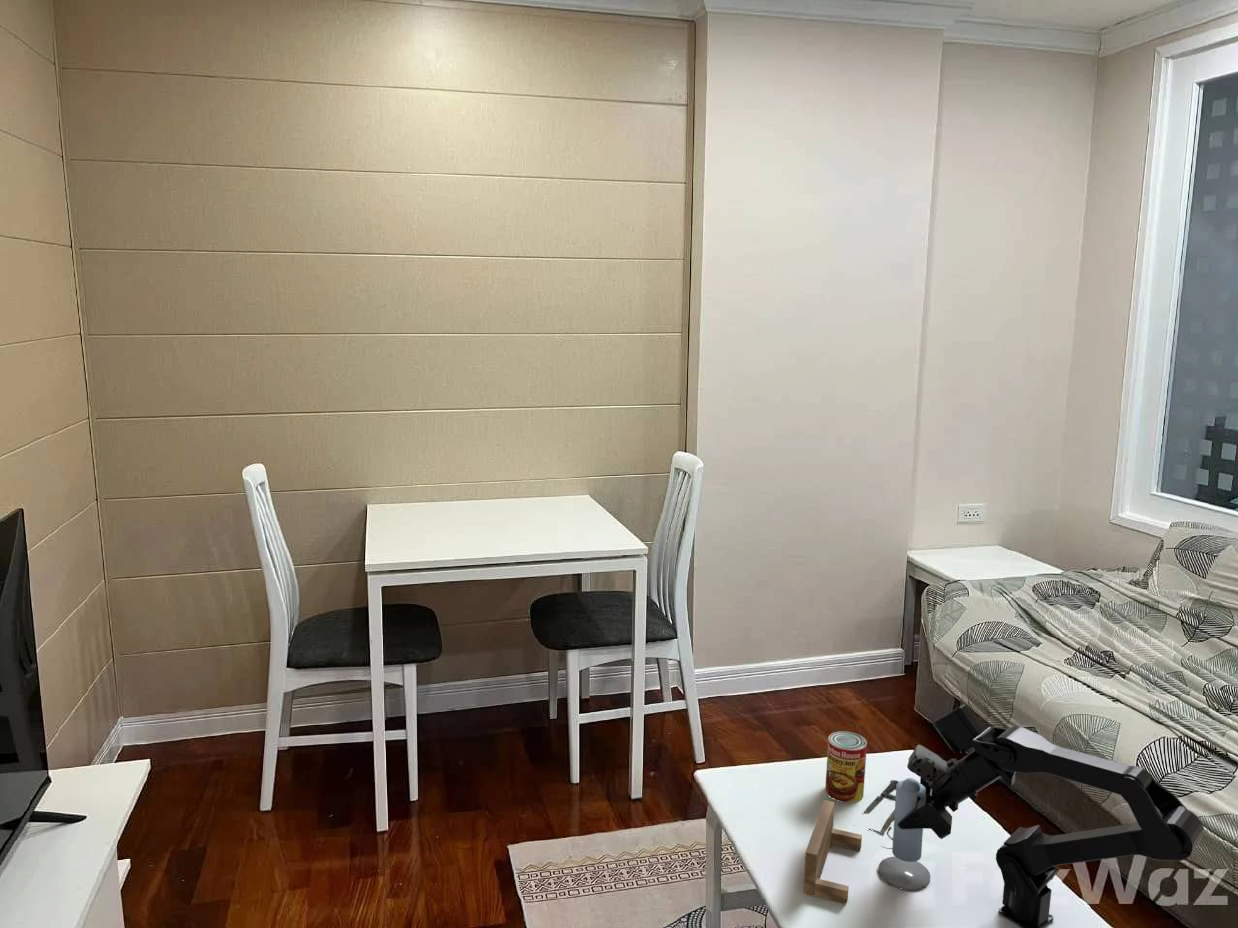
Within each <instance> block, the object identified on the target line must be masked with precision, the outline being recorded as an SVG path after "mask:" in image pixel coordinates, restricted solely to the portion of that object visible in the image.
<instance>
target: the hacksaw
mask: <svg viewBox="0 0 1238 928" xmlns="http://www.w3.org/2000/svg"><path fill="white" fill-rule="evenodd" d="M898 782H899V781H898V780H895V779H894V780H893V779H891V780H890V781H889V784H888V786H887V787H886V788H885V789H884V790H883V791H882V792H881V793H880V796H879V795H878V796H876V798H875V799H874V800H873V801H871V803H870V804H869V805H868V806H867V807H866V808H865V810H866V811H865V810H864V811H863V812H864V813H863V812H862V813H861V814H862V815H863V814H864V815H866V814H867V815H869V814H870V813H871V812H873V810H874V809H875V808H876V807H877V806H878V805H879V804H880V803H881V802H882V801H883V799H884V798H888V799H890V801H891V800H895V799H896V795H894V794H891V793H892V792H893V791H894V790H896V785H897V783H898ZM894 815H895V809H893V811H892V812H891V814H889V816H888V818H887V819H886V820H885V821H884V823H883V825H882V827H881V829H880V831H879V830H876V829H874V828H868V829H869V830H868V831H870V830H871V829H872V830H873V829H874V830H873V831H872V830H871V832H874V833H875V834H877V835H879V836H880V837H884V835H885V832H886V835H887V836H888V838H889V839H891V840H892V841H893V837H891V836H890V835H889V832H890V831H891V830H892V826H891V825H892V822H893V823H894ZM853 826H854V827H855V826H856V825H855V824H854V825H853ZM880 847H882V848H884V849H889V850H892V847H885V846H882V845H880Z"/></svg>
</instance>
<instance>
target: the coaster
mask: <svg viewBox="0 0 1238 928" xmlns="http://www.w3.org/2000/svg"><path fill="white" fill-rule="evenodd" d="M877 870H879V871H878V874H880V875H879V876H880V877H882V878H883V879H882V878H881V879H882V880H883V881H884V880H885V881H886V882H885V881H884V882H885V883H887V884H888V885H890V886H892V885H893V886H892V887H894V886H895V887H894V888H896V887H897V889H899V888H902V889H901V890H903V889H905V891H919V890H920V891H921V890H922V889H925V888H927V887H928V886H929V884H930V881H931V873H930V871H929V870H928V868H927V867H926V866H925V865H924V864H922V863H921V862H919V861H915V862H907V861H903V860H900V859H898V858H897V857H895V856H889V857H886V858H883V859H882V860H881V861H880V862H879V864H878V868H877ZM927 885H928V886H927ZM926 886H927V887H926Z"/></svg>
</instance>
